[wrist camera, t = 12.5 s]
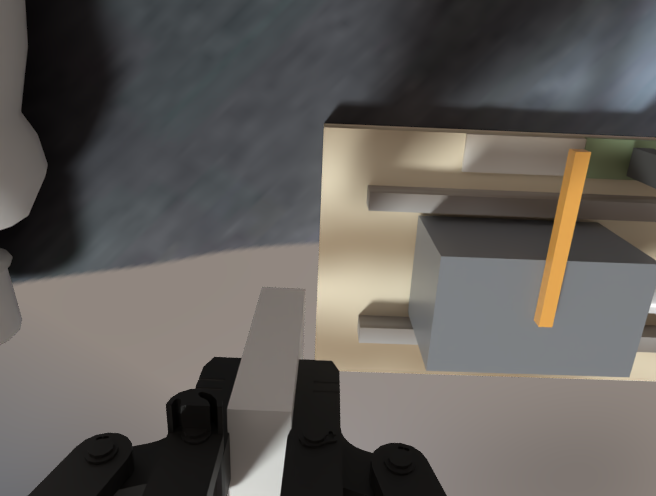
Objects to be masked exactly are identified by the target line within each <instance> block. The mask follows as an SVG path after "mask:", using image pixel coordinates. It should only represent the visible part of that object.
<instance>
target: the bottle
mask: <svg viewBox="0 0 656 496" xmlns="http://www.w3.org/2000/svg"><path fill="white" fill-rule="evenodd" d="M27 50H28V39H27V23H26V6H25V0H0V230H2V229H5V228H8V227H11V226H13V225H15V224H16V223H18V222H19V221H21V220H22V219H24V218H25V217H27V216H28V215H29V213H30V210H31V208H32V206H33V204H34V201H35V199H36V197H37V194H38V192H39V190H40V187H41V185H42V183H43V180H44V178H45V176H46V171H47V166H48V164H47V161H46V158H45V155H44V152H43V149H42V146H41V143H40V140H39V137H38V134H37V133H36V131H35V130H34V129H33V127H32V126H31V125H30V123H29V122H28V121H27V119H26V118H25V116H24V115H23V114H22V112H21V106H22V97H23V88H24V78H25V69H26V60H27ZM11 261H12V256H11V255H10V253H9V252H8V251H7V250H5V249H2V248H0V345H1V344H3V343H5V342H7V341H9V340H10V339H11V338H12V337H13V336H14V335H15V334H16V333H17V332H18V331H19V330H20V327H21V321H22V317H21V314H20V310H19V306H18V303H17V300H16V296H15V292H14V289H13V285H12V282H11V278H10V275H9V271H8V267H9V266H10V265H11Z"/></svg>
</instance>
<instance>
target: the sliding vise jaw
mask: <svg viewBox="0 0 656 496" xmlns="http://www.w3.org/2000/svg"><path fill="white" fill-rule="evenodd" d="M590 156H591V152H590V151H587V150H585V149H569V152H568V157H567V161H566V166H565V171H564V176H563V181H562V186H561V190H560V195H559V200H558V205H557V210H556V215H555V219H554V221H548V220H523V219H497V218H471V217H445V216H420V215H418V225H417V234H416V243H415V252H414V261H413V270H412V279H411V288H410V298H409V307H408V314H409V317H410V321H411V324H412V327H413V330H414V333H415V337H416V340H417V343H418V346H419V349H420V353H421V356H422V359H423V362H424V365H425V368H426V371H445V372H476V373H507V374H539V375H570V376H601V377H630V374H631V370H632V367H633V363H634V360H635V357H636V353H637V350H638V346H639V343H640V339H641V336H642V333H643V329H644V326H645V322H646V319H647V316H648V313H656V260H655V259H653V258H652V257H650V256H649V255H647V254H645V253H644V252H642V251H641V250H639V249H638V248H636V247H635V246H633V245H632V244H630V243H629V242H627V241H626V240H624V239H623V238H621V237H619V236H618V235H616V234H615V233H613V232H612V231H610V230H609V229H607V228H606V227H604V226H603V225H601V224H600V223H598V222H576V219H577V214H578V210H579V205H580V201H581V196H582V192H583V187H584V183H585V178H586V174H587V169H588V165H589V160H590Z"/></svg>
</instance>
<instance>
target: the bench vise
mask: <svg viewBox="0 0 656 496" xmlns="http://www.w3.org/2000/svg"><path fill="white" fill-rule="evenodd" d="M633 148H653V149H656V137H633V136H609V135H586V134H563V133H539V132H516V131H492V130H469V129H446V128H422V127H399V126H375V125H352V124H329V123H324V137H323V163H322V188H321V213H320V238H319V265H318V288H317V313H316V339H315V360H327V361H333V363H334V364H335V366H336V367H337V368H338V370H339V371H349V372H380V373H381V372H383V373H411V374H444V375H476V376H505V377H506V376H507V377H537V378H568V379H599V380H631V381H633V380H634V381H656V313H648V316H647V319H646V322H645V326H644V329H643V333H642V336H641V339H640V343H639V346H638V350H637V353H636V357H635V360H634V363H633V367H632V370H631V374H630V377H601V376H570V375H539V374H507V373H476V372H445V371H426V368H425V365H424V362H423V359H422V356H421V353H420V349H419V346H418V343H417V340H416V337H415V333H414V330H413V327H412V324H411V321H410V317H409V314H408V307H409V298H410V288H411V279H412V270H413V261H414V252H415V243H416V234H417V225H418V215H420V216H445V217H471V218H497V219H523V220H548V221H554V219H555V215H556V210H557V205H558V200H559V195H560V190H561V186H562V181H563V176H564V171H565V166H566V161H567V157H568V152H569V149H585V150H587V151H590V152H591V156H590V160H589V165H588V169H587V174H586V178H585V183H584V187H583V192H582V196H581V201H580V205H579V210H578V214H577V219H576V222H598V223H600V224H601V225H603V226H604V227H606V228H607V229H609V230H610V231H612V232H613V233H615V234H616V235H618V236H619V237H621V238H623V239H624V240H626V241H627V242H629V243H630V244H632V245H633V246H635V247H636V248H638V249H639V250H641V251H642V252H644V253H645V254H647V255H649V256H650V257H652V258H653V259H655V260H656V189H655V188H653V187H650V186H648V185H646V184H644V183H641V182H639V181H637V180H635V179H632V178H630V177H628V176H626V175H627V171H628V167H629V163H630V159H631V155H632V151H633Z"/></svg>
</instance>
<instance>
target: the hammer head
mask: <svg viewBox="0 0 656 496" xmlns="http://www.w3.org/2000/svg"><path fill="white" fill-rule="evenodd" d="M626 176H628V177H630V178H632V179H635V180H637V181H639V182H641V183H644V184H646V185H648V186H650V187H653V188H655V189H656V149H653V148H633V151H632V155H631V159H630V163H629V167H628V171H627V175H626Z"/></svg>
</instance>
